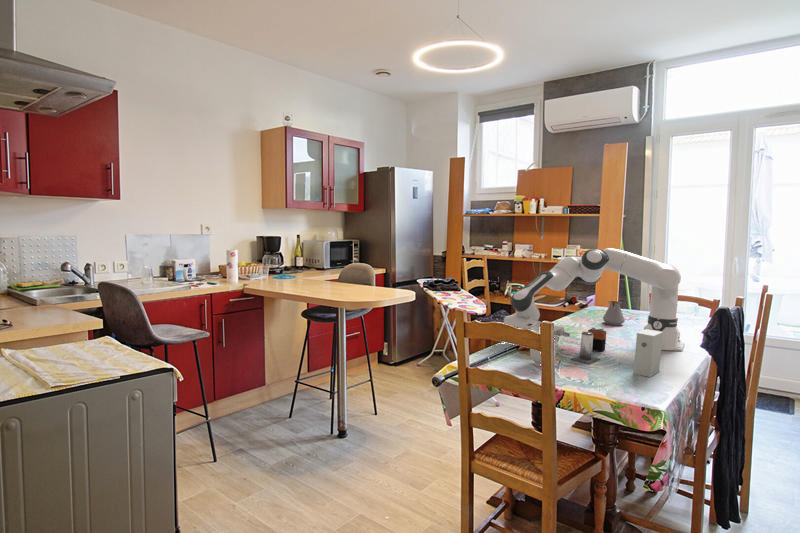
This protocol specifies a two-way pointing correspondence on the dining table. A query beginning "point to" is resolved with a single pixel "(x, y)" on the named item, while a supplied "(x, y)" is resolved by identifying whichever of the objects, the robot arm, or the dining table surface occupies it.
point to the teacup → (537, 356)
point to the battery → (598, 339)
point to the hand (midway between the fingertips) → (563, 336)
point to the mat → (585, 360)
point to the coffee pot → (614, 314)
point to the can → (586, 345)
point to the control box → (648, 352)
